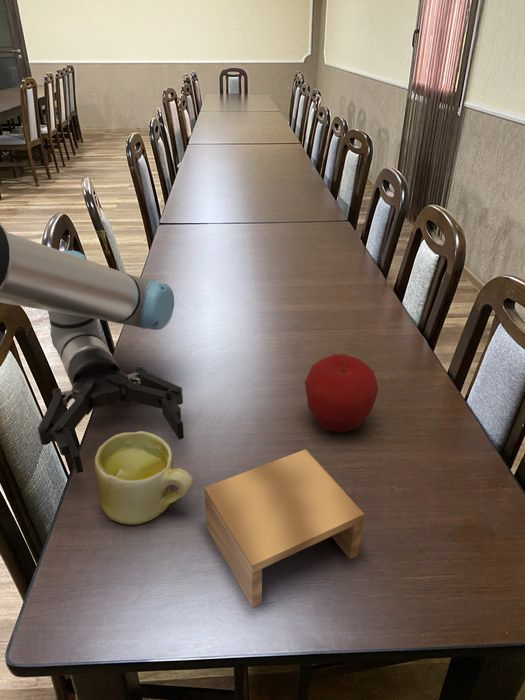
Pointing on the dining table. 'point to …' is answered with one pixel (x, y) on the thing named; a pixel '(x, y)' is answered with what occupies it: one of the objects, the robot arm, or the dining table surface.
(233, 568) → the shelf
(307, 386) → the apple
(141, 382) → the robot arm
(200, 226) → the dining table surface
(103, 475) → the mug
